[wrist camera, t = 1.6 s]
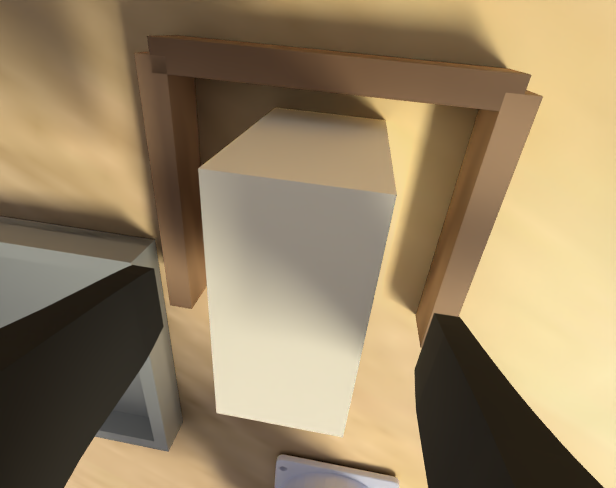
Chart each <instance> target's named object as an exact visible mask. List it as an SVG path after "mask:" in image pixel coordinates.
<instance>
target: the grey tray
mask: <svg viewBox="0 0 616 488" xmlns="http://www.w3.org/2000/svg"><path fill="white" fill-rule="evenodd" d="M131 265H137V266H143V267H149V268H154V270H155V276H156V283H157V289H158V295H159V301H160V307H161V313H162V319H163V325H164V327H163V329H162V331H161V333H160V335H159V337H158V339H157V341H156V343H155V345H154V347H153V349H152V351H151V353H150V355H149V357H148V358H147V360H146V362H145V363H144V365H143V366H142V368H141V370H140V371H139V372H138V374H137V375H136V377H135V378H134V380H133V381H132V383H131V384H130V386H129V387H128V389H127V390H126V392H125V393H124V395H123V396H122V397H121V399H120V400H119V402H118V403H117V405H116V406H115V408H114V409H113V411H112V412H111V413H110V415H109V416H108V418H107V419H106V421H105V422H104V424H103V425H102V427H101V428H100V429H99V431H98V432H97V434H96V435H95V437H100V438H104V439H109V440H114V441H119V442H124V443H129V444H134V445H139V446H143V447H148V448H153V449H158V450H163V451H168V452H169V450H170V448H171V445H172V443H173V441H174V439H175V437H176V435H177V433H178V431H179V429H180V427H181V425H182V423H183V420H182V413H181V407H180V400H179V394H178V387H177V380H176V374H175V367H174V361H173V354H172V348H171V341H170V335H169V328H168V321H167V315H166V308H165V302H164V295H163V289H162V282H161V276H160V269H159V262H158V256H157V249H156V243H155V240H153V239H147V238H140V237H134V236H127V235H121V234H114V233H107V232H101V231H94V230H88V229H81V228H75V227H68V226H62V225H55V224H48V223H42V222H35V221H29V220H22V219H16V218H9V217H3V216H0V328H2V327H4V326H6V325H8V324H10V323H13V322H15V321H17V320H19V319H21V318H23V317H26V316H28V315H30V314H32V313H34V312H36V311H39V310H41V309H43V308H45V307H47V306H49V305H51V304H53V303H55V302H57V301H59V300H61V299H63V298H65V297H67V296H69V295H71V294H73V293H75V292H77V291H79V290H81V289H83V288H85V287H87V286H89V285H91V284H93V283H95V282H97V281H99V280H101V279H103V278H105V277H107V276H109V275H111V274H113V273H115V272H117V271H119V270H121V269H124V268H126V267H128V266H131Z"/></svg>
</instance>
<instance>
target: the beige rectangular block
mask: <svg viewBox="0 0 616 488" xmlns="http://www.w3.org/2000/svg"><path fill="white" fill-rule="evenodd" d="M198 173H199V186H200V200H201V213H202V227H203V240H204V253H205V267H206V280H207V293H208V307H209V320H210V333H211V347H212V360H213V374H214V387H215V400H216V413H219V414H224V415H230V416H235V417H240V418H245V419H250V420H255V421H261V422H266V423H271V424H276V425H281V426H286V427H292V428H297V429H302V430H307V431H312V432H318V433H323V434H328V435H333V436H338V437H343V435H344V430H345V426H346V421H347V417H348V412H349V408H350V403H351V399H352V394H353V390H354V385H355V381H356V376H357V372H358V367H359V363H360V358H361V354H362V349H363V345H364V340H365V335H366V331H367V326H368V322H369V317H370V313H371V308H372V304H373V299H374V295H375V290H376V286H377V281H378V277H379V272H380V268H381V263H382V259H383V254H384V250H385V245H386V241H387V236H388V232H389V227H390V223H391V218H392V214H393V209H394V205H395V200H396V196H397V194H396V187H395V180H394V174H393V167H392V160H391V154H390V147H389V140H388V133H387V127H386V120H380V119H372V118H363V117H354V116H346V115H337V114H328V113H320V112H311V111H303V110H294V109H285V108H277V107H275V108H274V109H273V110H271V111H270V112H269V113H268V114H266V115H265V116H264V117H263V118H261V119H260V120H259V121H258V122H256V123H255V124H254V125H252V126H251V127H250V128H249V129H247V130H246V131H245V132H244V133H242V134H241V135H240V136H239V137H237V138H236V139H235V140H234V141H232V142H231V143H230V144H228V145H227V146H226V147H225V148H223V149H222V150H221V151H220V152H218V153H217V154H216V155H215V156H213V157H212V158H211V159H209V160H208V161H207V162H206V163H204V164H203V165H202V166H201V167H199V168H198Z"/></svg>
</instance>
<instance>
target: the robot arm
mask: <svg viewBox="0 0 616 488" xmlns="http://www.w3.org/2000/svg"><path fill="white" fill-rule="evenodd" d="M163 327H164V325H163V319H162V313H161V307H160V301H159V295H158V289H157V283H156V276H155V270H154V268H149V267H143V266H137V265H131V266H128V267H126V268H124V269H121V270H119V271H117V272H115V273H113V274H111V275H109V276H107V277H105V278H103V279H101V280H99V281H97V282H95V283H93V284H91V285H89V286H87V287H85V288H83V289H81V290H79V291H77V292H75V293H73V294H71V295H69V296H67V297H65V298H63V299H61V300H59V301H57V302H55V303H53V304H51V305H49V306H47V307H45V308H43V309H41V310H39V311H36V312H34V313H32V314H30V315H28V316H26V317H23V318H21V319H19V320H17V321H15V322H13V323H10V324H8V325H6V326H4V327H2V328H0V488H64V487H65V485H66V483H67V481H68V480H69V478H70V476H71V474H72V473H73V471H74V469H75V467H76V465H77V464H78V462H79V460H80V459H81V457H82V455H83V454H84V452H85V451H86V449H87V447H88V446H89V444H90V443H91V441H92V440H93V438H94V437H95V435H96V434H97V432H98V431H99V429H100V428H101V427H102V425H103V424H104V422H105V421H106V419H107V418H108V416H109V415H110V413H111V412H112V411H113V409H114V408H115V406H116V405H117V403H118V402H119V400H120V399H121V397H122V396H123V395H124V393H125V392H126V390H127V389H128V387H129V386H130V384H131V383H132V381H133V380H134V378H135V377H136V375H137V374H138V372H139V371H140V370H141V368H142V366H143V365H144V363H145V362H146V360H147V358H148V357H149V355H150V353H151V351H152V349H153V347H154V345H155V343H156V341H157V339H158V337H159V335H160V333H161V331H162V329H163ZM415 398H416V413H417V420H418V426H419V433H420V439H421V445H422V452H423V458H424V464H425V470H426V477H427V483H428V488H604V487H603V486H602V485H601V484H600V483H599V482H598V481H597V480H596V479H595V478H594V477H593V476H592V475H591V474H590V473H589V472H588V471H587V470H586V469H585V468H584V467H583V466H582V465H581V464H580V463H579V462H578V461H577V460H576V459H575V458H574V456H573V455H572V454H571V453H570V452H569V451H568V450H567V449H566V448H565V447H564V446H563V445H562V444H561V442H560V441H559V440H558V439H557V438H556V437H555V436H554V435H553V433H552V432H551V431H550V430H549V429H548V428H547V427H546V425H545V424H544V423H543V422H542V421H541V420H540V419H539V417H538V416H537V415H536V414H535V413H534V412H533V411H532V409H531V408H530V407H529V406H528V405H527V403H526V402H525V401H524V400H523V399H522V397H521V396H520V395H519V394H518V392H517V391H516V390H515V389H514V388H513V386H512V385H511V384H510V383H509V381H508V380H507V379H506V377H505V376H504V375H503V374H502V372H501V371H500V370H499V369H498V367H497V366H496V365H495V363H494V362H493V361H492V359H491V358H490V357H489V355H488V354H487V353H486V351H485V350H484V349H483V348H482V346H481V345H480V343H479V342H478V341H477V339H476V338H475V337H474V335H473V334H472V333H471V331H470V330H469V329H468V327H467V326H466V325H465V323H464V322H463V321H462V319H461V318H460V317H457V316H450V315H444V314H438V313H434V314H433V317H432V320H431V323H430V326H429V329H428V332H427V335H426V338H425V341H424V344H423V347H422V350H421V353H420V355H419V358H418V361H417V364H416V367H415ZM274 488H399V480H398V479H397V478H396V477H394V476H389V475H384V474H379V473H374V472H369V471H364V470H359V469H354V468H349V467H344V466H339V465H334V464H329V463H324V462H319V461H314V460H309V459H304V458H299V457H294V456H289V455H283V454H282V455H279V456H278V457H277V461H276V472H275V487H274Z"/></svg>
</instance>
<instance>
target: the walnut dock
mask: <svg viewBox="0 0 616 488" xmlns="http://www.w3.org/2000/svg"><path fill="white" fill-rule="evenodd" d="M147 38H148V46H149V52H140V53H134V56H135V63H136V70H137V77H138V84H139V91H140V98H141V105H142V112H143V119H144V126H145V133H146V140H147V147H148V154H149V161H150V168H151V175H152V182H153V189H154V195H155V202H156V209H157V216H158V223H159V230H160V237H161V244H162V251H163V258H164V265H165V272H166V279H167V286H168V293H169V300H170V305H172V306H178V307H184V308H189V309H192V308H193V306H194V305H195V303H196V302H197V300H198V298H199V297H200V295H201V294H202V292H203V291H204V289H205V288H206V286H207V280H206V267H205V253H204V240H203V227H202V213H201V200H200V186H199V173H198V168H199V167H201V162H200V148H199V134H198V120H197V106H196V91H195V78H204V79H213V80H222V81H231V82H240V83H250V84H259V85H268V86H277V87H286V88H295V89H304V90H313V91H322V92H331V93H340V94H349V95H358V96H367V97H376V98H385V99H394V100H403V101H412V102H421V103H430V104H439V105H448V106H457V107H466V108H475V109H479V110H478V114H477V117H476V120H475V123H474V127H473V130H472V133H471V137H470V140H469V143H468V146H467V150H466V153H465V156H464V159H463V163H462V166H461V169H460V172H459V176H458V179H457V182H456V186H455V189H454V192H453V195H452V199H451V202H450V205H449V208H448V212H447V215H446V218H445V222H444V225H443V228H442V231H441V235H440V238H439V241H438V244H437V248H436V251H435V254H434V257H433V261H432V264H431V267H430V271H429V274H428V277H427V280H426V284H425V287H424V290H423V293H422V297H421V300H420V303H419V306H418V310H417V313H416V321H417V328H418V334H419V341H420V347H421V348H422V347H423V344H424V341H425V338H426V335H427V332H428V329H429V326H430V323H431V320H432V317H433V314H434V313H438V314H444V315H450V316H457V317H458V316H459V314H460V311H461V308H462V306H463V303H464V301H465V298H466V295H467V293H468V290H469V288H470V285H471V282H472V280H473V277H474V275H475V272H476V269H477V267H478V264H479V262H480V259H481V256H482V254H483V251H484V249H485V246H486V243H487V241H488V238H489V236H490V233H491V230H492V228H493V225H494V223H495V220H496V217H497V215H498V212H499V210H500V207H501V204H502V202H503V199H504V197H505V194H506V191H507V189H508V186H509V184H510V181H511V178H512V176H513V173H514V171H515V168H516V165H517V163H518V160H519V158H520V155H521V153H522V150H523V147H524V145H525V142H526V140H527V137H528V134H529V132H530V129H531V127H532V124H533V121H534V119H535V116H536V114H537V111H538V108H539V106H540V103H541V101H542V98H543V96H540V95H538V94H535V93H532V92H530V91H527V90H526V89H527V86H528V83H529V80H530V77H531V75H530V74H526V73H522V72H519V71H515V70H511V69H508V68H498V67H488V66H478V65H468V64H458V63H448V62H438V61H428V60H418V59H408V58H398V57H388V56H379V55H369V54H359V53H349V52H339V51H329V50H319V49H309V48H299V47H289V46H279V45H269V44H259V43H249V42H240V41H230V40H220V39H210V38H200V37H190V36H180V35H166V36H147Z"/></svg>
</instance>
